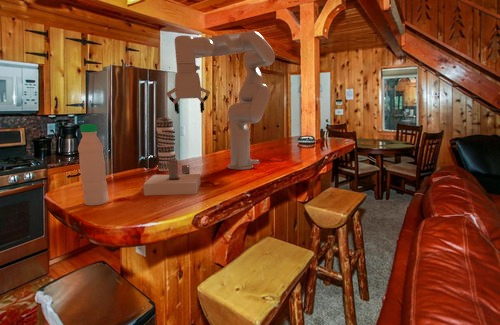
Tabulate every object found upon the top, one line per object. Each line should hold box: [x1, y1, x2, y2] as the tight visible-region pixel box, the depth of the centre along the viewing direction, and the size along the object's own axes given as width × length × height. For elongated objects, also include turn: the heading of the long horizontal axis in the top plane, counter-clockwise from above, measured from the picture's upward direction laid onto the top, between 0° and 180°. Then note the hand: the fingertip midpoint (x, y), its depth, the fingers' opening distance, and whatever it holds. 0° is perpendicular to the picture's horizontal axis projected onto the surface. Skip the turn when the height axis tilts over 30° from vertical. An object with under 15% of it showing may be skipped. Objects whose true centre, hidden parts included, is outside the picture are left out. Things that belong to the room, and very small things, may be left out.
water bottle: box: [77, 123, 109, 207], centre depth 94 cm, size 7×7×25 cm
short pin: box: [181, 164, 191, 174], centre depth 128 cm, size 3×3×6 cm
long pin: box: [168, 158, 179, 180], centre depth 111 cm, size 3×3×11 cm
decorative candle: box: [154, 117, 177, 172], centre depth 145 cm, size 9×9×25 cm
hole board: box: [143, 173, 201, 196], centre depth 111 cm, size 18×14×4 cm
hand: (189, 113), depth 123 cm, fingers open, 9 cm apart
